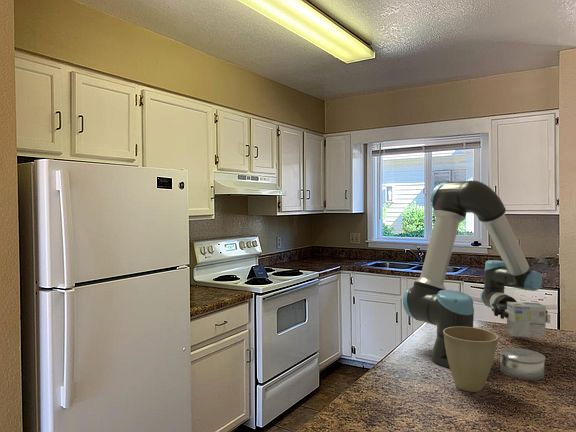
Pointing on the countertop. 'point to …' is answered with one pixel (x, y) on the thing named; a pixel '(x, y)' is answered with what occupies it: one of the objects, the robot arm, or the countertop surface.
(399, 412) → the countertop surface
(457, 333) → the plant pot
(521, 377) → the cookie tin
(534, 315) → the light bulb box
